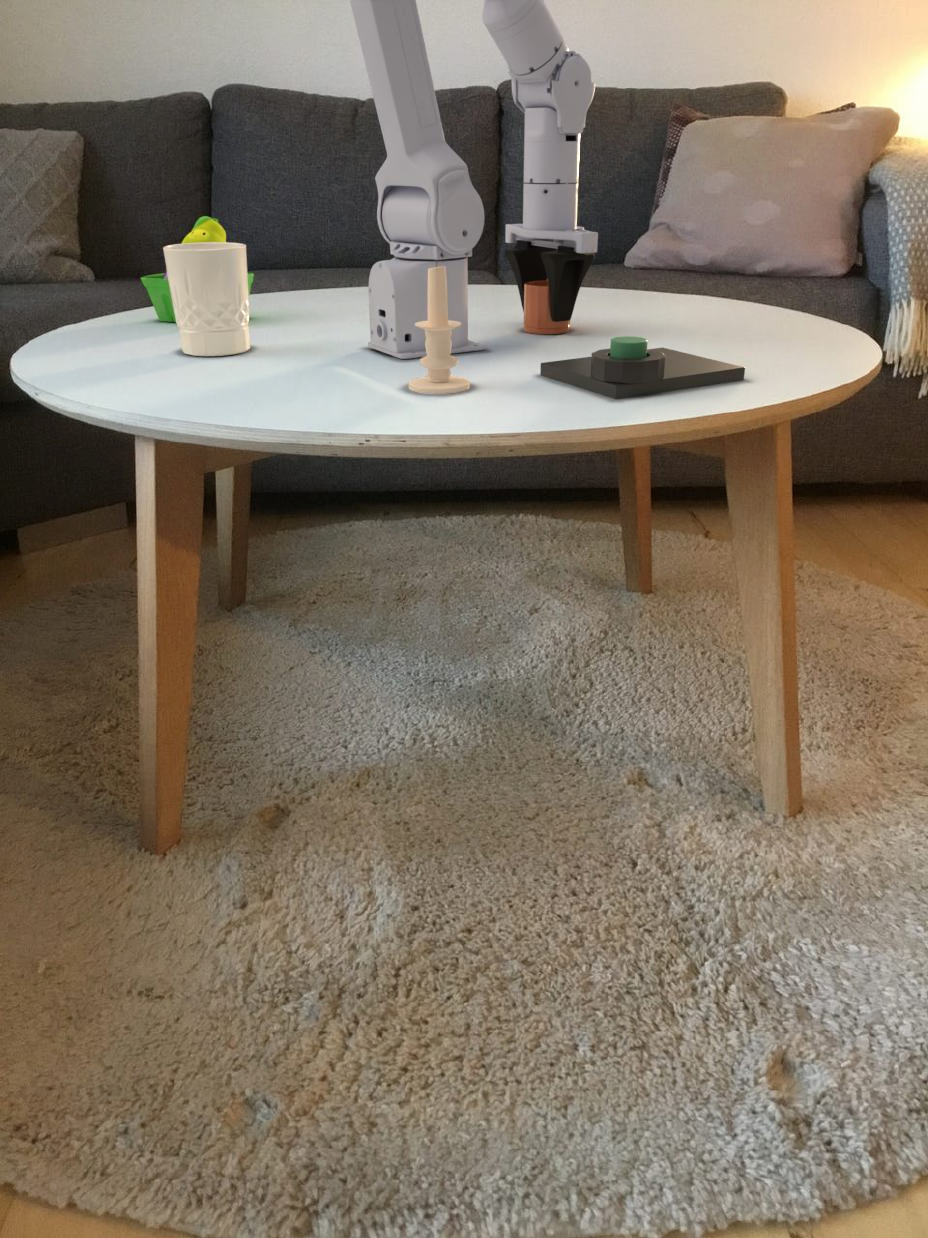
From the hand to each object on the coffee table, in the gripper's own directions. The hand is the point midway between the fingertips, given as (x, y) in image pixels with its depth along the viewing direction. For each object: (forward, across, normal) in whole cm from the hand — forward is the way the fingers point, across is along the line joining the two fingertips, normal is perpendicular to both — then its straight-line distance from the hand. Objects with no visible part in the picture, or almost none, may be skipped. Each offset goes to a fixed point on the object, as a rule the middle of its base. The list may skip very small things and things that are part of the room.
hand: (547, 317), depth 111 cm
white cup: (+2, +8, +35) cm, 36 cm away
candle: (+2, -19, +24) cm, 31 cm away
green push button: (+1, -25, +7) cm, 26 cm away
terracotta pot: (+1, 0, 0) cm, 1 cm away
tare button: (-1, -28, +11) cm, 30 cm away
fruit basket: (+2, +28, +30) cm, 41 cm away
